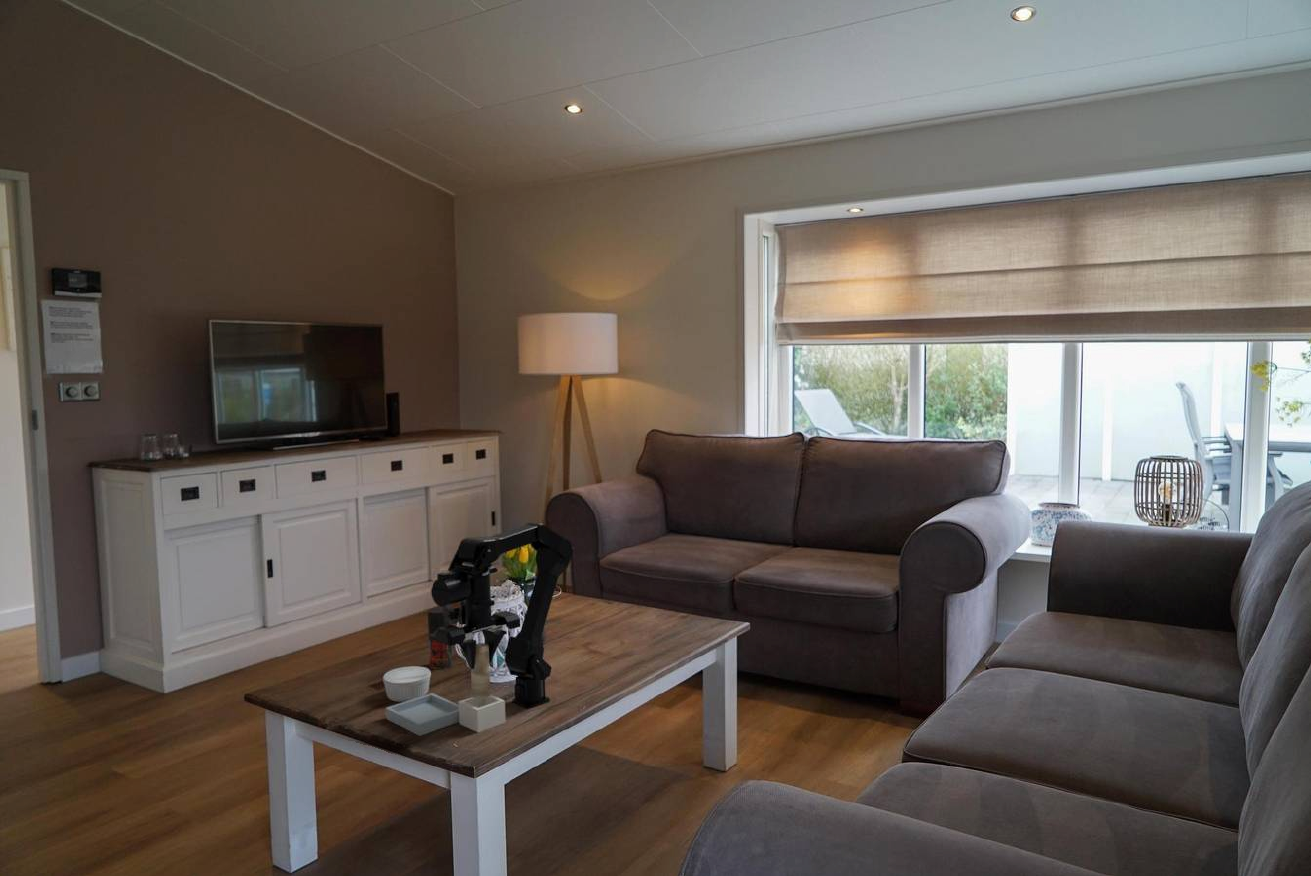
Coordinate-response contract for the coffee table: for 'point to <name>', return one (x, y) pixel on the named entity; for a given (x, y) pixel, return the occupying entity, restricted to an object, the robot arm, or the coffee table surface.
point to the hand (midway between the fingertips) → (480, 665)
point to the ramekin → (407, 683)
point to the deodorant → (438, 652)
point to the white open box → (481, 713)
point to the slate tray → (424, 714)
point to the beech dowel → (481, 672)
